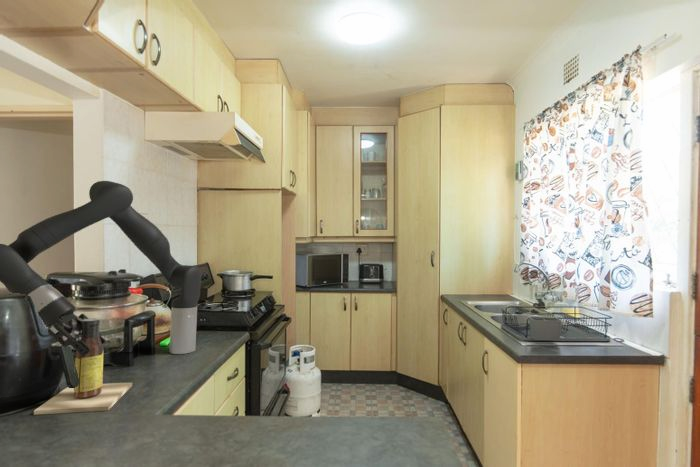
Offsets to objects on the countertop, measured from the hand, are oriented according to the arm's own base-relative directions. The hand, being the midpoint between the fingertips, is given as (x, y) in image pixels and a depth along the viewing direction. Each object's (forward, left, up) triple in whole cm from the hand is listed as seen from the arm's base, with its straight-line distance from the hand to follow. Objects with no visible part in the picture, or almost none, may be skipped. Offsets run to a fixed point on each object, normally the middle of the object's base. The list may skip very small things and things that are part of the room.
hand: (95, 348), depth 98 cm
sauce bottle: (0, -1, -12) cm, 12 cm away
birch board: (0, -1, -13) cm, 13 cm away
